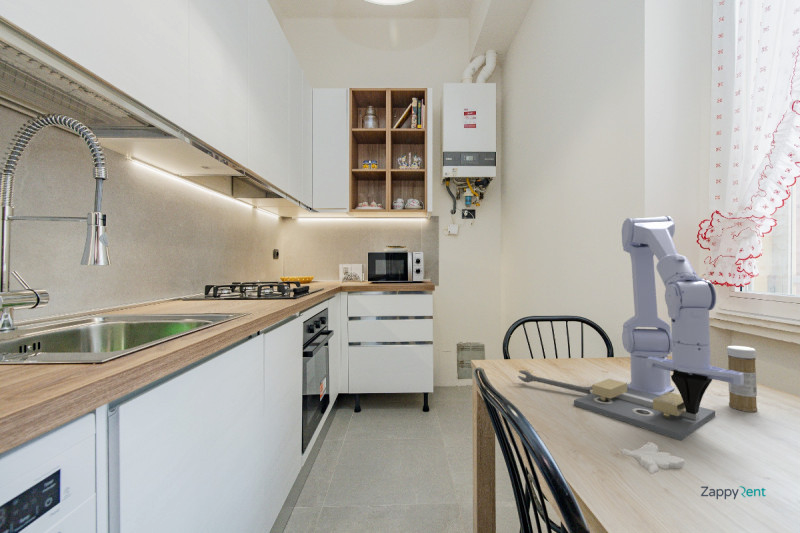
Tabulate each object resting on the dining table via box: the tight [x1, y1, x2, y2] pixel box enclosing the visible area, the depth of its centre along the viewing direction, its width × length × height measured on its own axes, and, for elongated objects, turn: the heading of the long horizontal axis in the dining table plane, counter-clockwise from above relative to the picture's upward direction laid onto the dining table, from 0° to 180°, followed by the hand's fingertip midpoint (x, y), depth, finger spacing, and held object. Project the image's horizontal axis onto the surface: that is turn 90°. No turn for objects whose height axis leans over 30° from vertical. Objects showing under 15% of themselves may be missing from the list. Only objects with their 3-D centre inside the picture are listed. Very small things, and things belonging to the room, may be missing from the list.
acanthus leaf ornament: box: [620, 441, 685, 475], centre depth 56 cm, size 8×7×2 cm
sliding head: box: [653, 391, 686, 418], centre depth 70 cm, size 8×4×3 cm, turn 123°
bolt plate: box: [573, 378, 716, 441], centre depth 75 cm, size 18×20×4 cm
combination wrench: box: [517, 370, 592, 395], centre depth 89 cm, size 4×1×20 cm
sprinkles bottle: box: [726, 345, 758, 413], centre depth 76 cm, size 5×5×14 cm
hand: (692, 412), depth 67 cm, fingers closed
